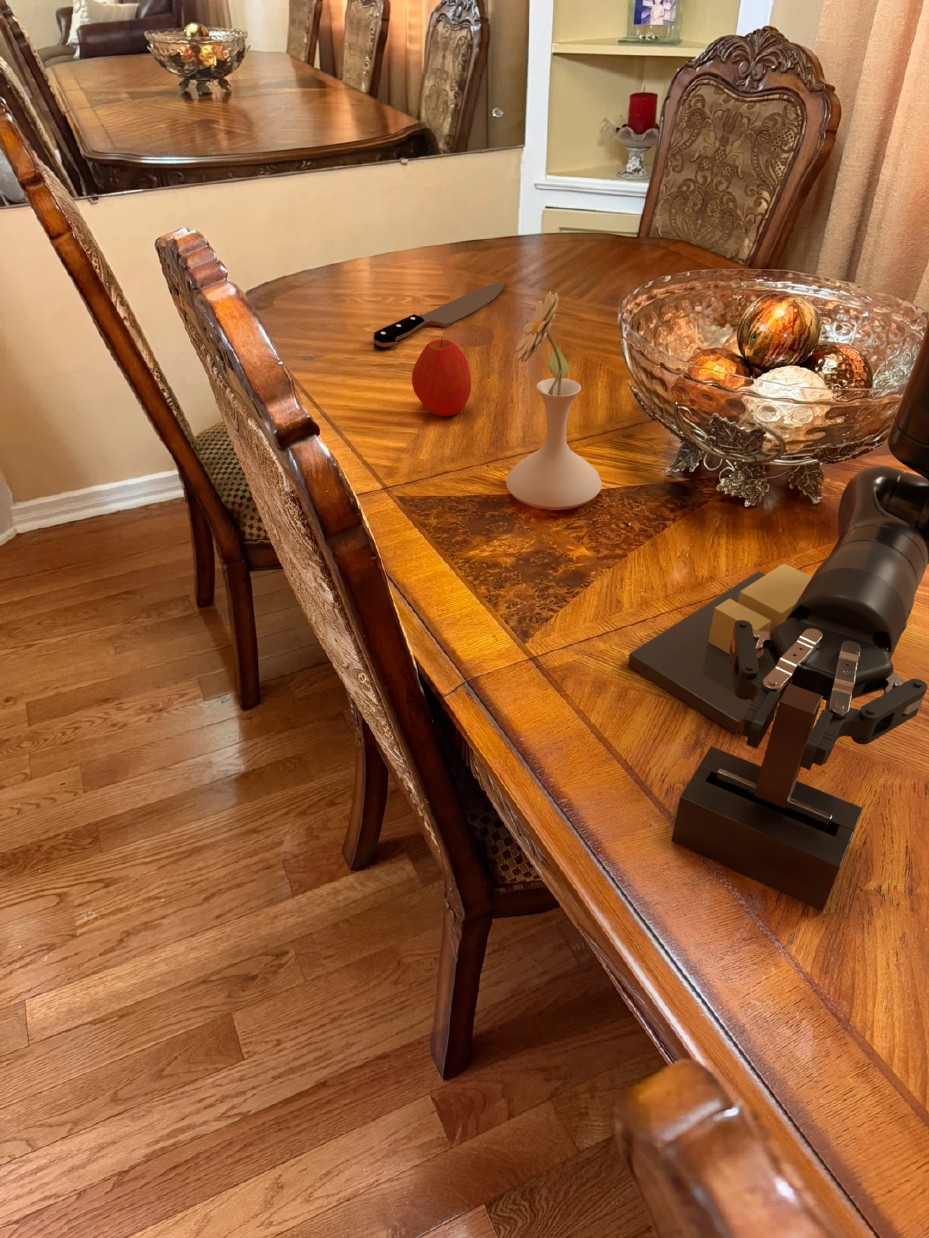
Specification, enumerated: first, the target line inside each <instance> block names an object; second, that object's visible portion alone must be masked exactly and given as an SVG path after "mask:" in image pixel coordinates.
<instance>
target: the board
mask: <svg viewBox="0 0 929 1238" xmlns="http://www.w3.org/2000/svg"><path fill="white" fill-rule="evenodd" d="M765 575H766V574H765V573H763V572H761V571H756V572H754V573H753V574H751V576H749V577H747V578H745V579H744V580H742V581H740V582H739V583H737V584H736V585H734V586H733V587H731V588H730V589H729V590H726V591H725V592H723V593H722V594H721V595H719V596H717V597H716V598H714V599H713V600H711V601H709V602H708V603H707V604H704V605H703V606H701V607H700V608H699V609H697V610H695V611H694V612H692V613H690V614H689V615H687V616H686V617H684V618H683V619H681V620H680V621H678V622H677V623H675V624H673V625H672V626H670V627H669V628H667V629H666V630H664V631H662V632H661V633H659V634H658V635H656V636H655V637H653V638H651V639H650V640H648V641H647V642H645V643H643V644H642V645H640V646H639V647H637V648H636V649H634V650H633V651H631V652H630V653H629V654H628V662H627V666H628V667H630V668H631V669H632V670H634V671H635V672H637V673H639V674H641V675H642V676H644V677H645V678H647V679H648V680H650V681H651V682H652V683H654V684H656V685H658V686H659V687H661V689H664V690H665V691H667V692H669V693H670V694H672V695H673V696H675V697H677V698H678V699H679V700H680V701H682V702H684V703H686V704H687V705H689V706H690V707H692V708H693V709H695V710H696V711H698V712H699V713H701V714H703V715H704V716H706V717H707V718H709V719H710V720H712V721H713V722H715V723H716V724H718V725H720V726H721V727H723V728H725V729H726V730H727V731H729V732H731V733H732V734H734V735H737V734H738V733H739V732H742V725H743V721H744V717H745V713H746V712H747V710H748V709H749V707H750V705H751V703H752V701H751V700H750V699H748V700H743V699H740V698H738V697H737V696H736V695H735V693H734V684H733V676H732V668H731V660H730V654H728V653H727V652H725V651H723V650H721V649H720V648H718V647H716V646H714V645H713V644H711V643H709V642H708V640H709V635H710V630H711V625H712V620H713V614H714V609H715V607H717V606H718V605H720V604H721V603H723V602H725V601H726V600H728V599H732V600H733V601H735V602H737V603H738V599H739V595H740V591H742V590H743V589H745V588H746V587H748V586H749V585H751V584H752V583H754V582H755V581H757V580H759V579H760V578H762V577H763V576H765ZM757 661H758V667H759V671H758V673H760V674H761V675H763V676H764V677H766V676H767V675H768V674H769V673H770V672H771V671H772V670H773V669H774V668H775V667H776V666H775V664H774V661H773V659H772V657H771V655H770V653H769V651H768V649H764V652H763V655H762V656H761V657H759V658H758V659H757Z"/></svg>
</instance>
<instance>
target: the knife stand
mask: <svg viewBox="0 0 929 1238" xmlns="http://www.w3.org/2000/svg"><path fill="white" fill-rule="evenodd" d="M761 766H762V765H759V764H757V763H754V762H752V761H750V760H747V759H744V758H742V757H739V756H736V755H734V754H732V753H729V752H727V751H725V750H722V749H719V748H717V747H715V746H712V745H710V746H709V748H708V749H707V751H706V753H705V754H704V757H703V758H702V760H701V761H700V763H699V764H698V766H697V768H696V769H695V771H694V773H693V775H692V776H691V778H690V780H689V781H688V782H687V784H686V786H685V787H684V789H683V791H682V793H681V795H680V796H679V799H678V805H677V810H676V814H675V820H674V825H673V830H672V835H671V839H670V840H671V842H672V843H674V844H676V845H678V846H680V847H682V848H684V849H687V850H688V851H691V852H693V853H696V854H698V855H699V856H702V857H704V858H706V859H708V860H710V861H713V862H714V863H717V864H719V865H721V866H723V867H725V868H727V869H729V870H731V871H734V872H735V873H738V874H740V875H742V876H745V877H747V878H749V879H751V880H753V881H756V882H757V883H759V884H761V885H763V886H765V887H768V888H770V889H772V890H775V891H777V892H779V893H781V894H783V895H785V896H787V897H790V898H791V899H793V900H795V901H798V902H800V903H802V904H804V905H806V906H808V907H811V908H812V909H815V910H817V911H819V912H822V913H823V912H824V911H825V908H826V905H827V903H828V901H829V900H828V899H829V897H830V895H831V892H832V889H833V887H834V884H835V882H836V880H837V877H838V874H839V872H840V869H841V867H842V864H843V862H844V859H845V856H846V854H847V851H848V849H849V846H850V844H851V842H852V839H853V836H854V834H855V831H856V828H857V826H858V823H859V821H860V818H861V816H862V813H863V810H864V807H862V806H859V805H857V804H855V803H852V802H851V801H847V800H845V799H842V798H840V797H837V796H835V795H833V794H830V793H827V792H825V791H822V790H821V789H817V788H816V787H813V786H811V785H808V784H805V783H803V782H801V781H798V780H797V781H796V784H795V787H794V790H793V793H792V795H791V797H790V798H792V799H794V800H796V801H799V802H801V803H804V804H806V805H808V806H811V807H813V808H816V809H818V810H820V811H823V812H825V813H828V814H830V815H832V818H831V821H830V824H829V826H828V829H827V832H826V833H825V832H823V831H820V830H818V829H816V828H813V827H811V826H809V825H806V824H804V823H802V822H799V821H797V820H795V819H792V818H790V817H788V816H785V815H783V814H781V813H778V812H776V811H774V810H771V809H769V808H767V807H764V806H762V805H760V804H757V803H755V802H752V801H750V800H748V799H745V798H743V797H741V796H738V795H736V794H734V793H731V792H729V791H727V790H724V789H722V788H720V787H717V786H715V782H716V778H717V773H718V771H719V769H722V770H725V771H727V772H729V773H732V774H734V775H737V776H739V777H741V778H744V779H746V780H749V781H751V782H753V783H756V784H757V781H758V777H759V774H760V770H761Z"/></svg>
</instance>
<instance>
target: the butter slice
mask: <svg viewBox="0 0 929 1238" xmlns="http://www.w3.org/2000/svg"><path fill="white" fill-rule="evenodd" d="M738 620H745V621H748V622H750V623H751V625H752V629H753V630H754V631H767V632H769V628H770V624H771V620H769V619H767V618H765V617H763V616H762V615H760V614H758V613H756V612H754V611H752V610H750V609H748V608H747V607H745V606H743V605H741V604H739V603H737V602H735V601H733V600H732V599H728V600H726V601H725V602H723V603H721V604H720V605H718V606H717V607H715V609H714V614H713V620H712V625H711V630H710V635H709V640H708V642H709V643H711V644H713V645H714V646H716V647H718V648H720V649H721V650H723V651H725V652H727V653H728V654H730V652H729V648H730V644H731V639H732V634H733V630H734V625H735V622H736V621H738ZM763 652H764V650H762V651H761V654H760V656H759V657H761V656H762V655H763ZM759 657H757V659H758V658H759Z"/></svg>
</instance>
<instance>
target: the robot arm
mask: <svg viewBox="0 0 929 1238" xmlns="http://www.w3.org/2000/svg"><path fill="white" fill-rule="evenodd" d="M887 447H888V450H889V451H890V452H889V453H891V455H892V456H893V458H895V459H896V460H897V461H898V462H899V463H900V464H902V465H904V466H905V467H906V468H908V469H910V470H912V471H913V472H915V473H916V474H915V473H912V472H909V471H904V470H903V469H899V468H896V467H893V466H889V465H883V464H878V465H877V464H876V465H871V466H868V467H865V468H863V469H861V470H860V471H857V473H855V474H854V475H853V476H852V477H851V478H850V479H849V480H848V482H847V484H846V485H845V487H844V490H843V491H842V493H841V497H840V501H839V506H838V513H837V535H838V536H837V537H838V539H837V542H836V543H835V545H834V547H833V548H832V550H831V551H830V553H829V555H828V556H827V558H826V559H825V560H824V561H823V562H821V564H820V565H819V566H818V568H816V570H815V572H814V573H813V575H812V576H811V577H812V578H811V580H810V581H809V583H808V584H807V586H806V588H805V589H804V591H803V593H802V594H801V596H800V598H799V599H798V601H797V602H796V604H795V606H794V607H793V609H792V611H791V612H790V614H789V616H788V617H787V619H786V620H785V621H784V622H783V623H781V624H778V625H776V626H774V627H773V628H772V629H771V631H770V632H767V631H754V630H753V629H752V625H751V623H750V622H748V621H745V620H738V621H736V622H735V625H734V630H733V634H732V639H731V644H730V648H729V652H730V660H731V668H732V676H733V684H734V693H735V695H736V696H737V697H738V698H740V699H743V700H748V699H750V700H751V701H752V703H751V705H750V707H749V709H748V710H747V712H746V713H745V717H744V721H743V725H742V730H741V736H744V737H746V738H747V739H746V743H745V744H746V746H748V747H750V748H753V749H755V750H757V749H758V748H759V746H760V745H761V742H762V741H763V739H764V738H765V735H766V733H767V732H768V731H769V728H770V726H771V725H772V724H773V722H774V719H775V715H776V711H777V708H778V704H779V701H780V699H781V697H782V695H783V694H784V692H785V690H786V688H787V686H788V685H789V684H791V685H794V686H797V687H800V688H802V689H805V690H808V691H811V692H814V693H816V694H819V695H822V696H823V698H822V701H825V705H824V709H822V710H821V712H820V714H819V716H818V718H817V719H816V721H815V723H814V727H813V730H812V732H811V734H810V736H809V738H808V740H807V742H806V745H805V748H804V751H803V754H802V757H801V760H800V763H799V766H800V767H801V768H803V769H805V770H808V771H811V769H812V768H813V765H817V766H819V767H822V766H823V765H825V764H827V762H828V760H829V758H830V756H831V753H832V751H833V749H834V747H835V745H836V743H837V741H838V740H839V739H840V738H842V737H849V738H851V740H852V741H853V742H854V743H856V744H858V745H862V746H867V745H869V744H870V743H873V742H874V741H876V740H877V739H879V738H881V737H883V736H884V735H886V734H888V733H889V732H891V731H892V730H895V729H896V728H898V727H899V726H901V725H903V724H904V723H906V722H908V721H909V720H911V719H913V718H915V717H916V716H917V715H918V713H919V710H920V708H921V706H922V703H923V701H924V699H925V695H926V693H927V691H928V687H929V685H928V684H927V683H926V681H924V680H922V679H920V678H910V679H909V680H904V679H903V678H901V677H900V676H898V675H897V674H894V670H895V669H894V664H893V661H892V660H891V659H892V656H893V655H894V653H895V650H896V647H897V645H898V643H899V641H900V639H901V636H902V634H903V633H904V632H905V630H906V629H907V626H908V620H909V618H910V615H911V613H912V610H913V607H914V603H915V596H916V593H917V591H918V588H919V587H920V584H921V582H922V579H923V578H924V575H925V573H926V570H927V567H928V565H929V316H927V321H926V326H925V330H924V334H923V336H922V340H921V343H920V347H919V350H918V353H917V355H916V358H915V360H914V364H913V366H912V369H911V372H910V374H909V377H908V380H907V382H906V385H905V388H904V390H903V392H902V395H901V398H900V401H899V403H898V406H897V409H896V412H895V414H894V417H893V420H892V422H891V424H890V428H889V431H888V436H887ZM764 649H768V651H769V653H770V655H771V657H772V659H773V661H774V664H775V666H776V667H775V668H774V669H773V670H772V671H771V672H770V673H769V674H768V675H767V676H766V677H764V676H763V675H761V674H760V673H758V671H759V667H758V661H757V657H759V656H760V654H761V651H762V650H764ZM881 691H883V694H881V695H879V696H878V697H876V698H874V699H872V700H871V701H869V702H867V703H865V704H864V705H862V706H861V707H860V708H859V709H858V708H852V707H851V700H853V699H857V698H860V697H864V696H866V695H870V694H873V693H874V694H875V693H877V692H881Z"/></svg>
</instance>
